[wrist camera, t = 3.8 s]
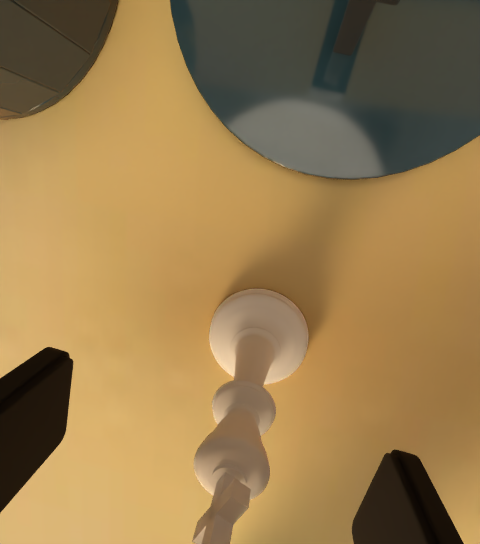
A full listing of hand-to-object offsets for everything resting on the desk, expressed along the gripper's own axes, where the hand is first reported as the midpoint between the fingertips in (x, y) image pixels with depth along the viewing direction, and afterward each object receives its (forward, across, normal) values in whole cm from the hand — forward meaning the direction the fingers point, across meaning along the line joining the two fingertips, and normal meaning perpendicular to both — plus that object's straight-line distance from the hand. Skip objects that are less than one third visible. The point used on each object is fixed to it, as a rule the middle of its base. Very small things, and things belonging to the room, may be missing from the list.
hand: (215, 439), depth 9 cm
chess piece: (+7, -1, 0) cm, 7 cm away
